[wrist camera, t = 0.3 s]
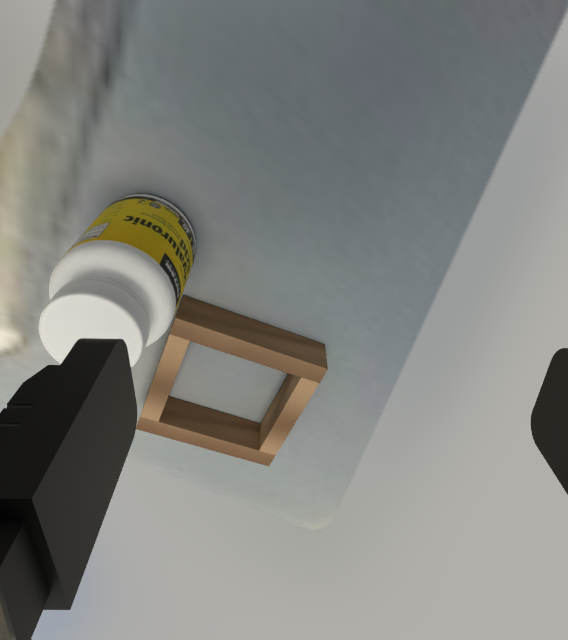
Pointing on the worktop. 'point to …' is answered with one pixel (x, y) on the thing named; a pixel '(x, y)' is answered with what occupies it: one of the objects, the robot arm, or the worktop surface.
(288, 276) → the worktop surface
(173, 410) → the wooden frame
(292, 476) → the worktop surface
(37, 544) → the robot arm
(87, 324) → the supplement bottle
